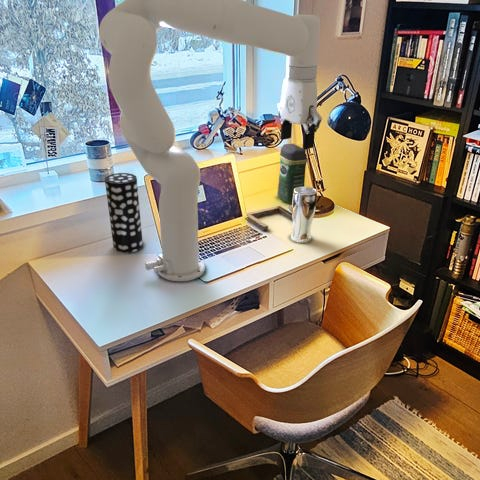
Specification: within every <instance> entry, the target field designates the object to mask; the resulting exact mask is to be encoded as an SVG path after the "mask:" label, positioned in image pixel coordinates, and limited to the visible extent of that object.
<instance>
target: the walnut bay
mask: <svg viewBox="0 0 480 480" xmlns="http://www.w3.org/2000/svg"><path fill="white" fill-rule="evenodd" d="M246 213H247V216H248V217H247V218H248V219H247V221H248V222H249V223H251V224H252V225H254V226H255V227H257V228H258V229H259V230H261V231H263V232H266V231H269V225H268V224H267V223H265V222H263V221H261V220H260V219H259V217H264V216H268V215H272V214H277V213H278V214H280V215H282V216H283V217H285V218H287V219H288V220H290V221H291V222H293V218H292V211H289V210H287V209H286V208H284V207H282V206H281V205H277V206H272V207H268V208H264V209H259V210H254V211H250V212H246Z"/></svg>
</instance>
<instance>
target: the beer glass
mask: <svg viewBox="0 0 480 480" xmlns="http://www.w3.org/2000/svg"><path fill="white" fill-rule="evenodd" d="M317 199H318V190H317V189H316V188H314V187H311V186H306V185H304V186H302V187H297V188H295V189H294V194H293V200H292V203H291V213H292V218H293V221H292V229H291V230H292V231H291V233H290V240H292V241H293V242H295V243H301V244H305V243H308V242H310V241H311V240H312V234H311V233H312V232H311V228H312V224H313V220H314V217H315V214H316V209H317Z"/></svg>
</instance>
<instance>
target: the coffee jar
mask: <svg viewBox="0 0 480 480" xmlns="http://www.w3.org/2000/svg"><path fill="white" fill-rule="evenodd" d="M305 150H306V149H303V147H301V146H299V145H298V144H295V143H285V144H283V145H282V146H281V148H280V153H279V176H278V186H277V195H276V196H277V198H278V199H279V200H281V201H282V202H284V203H286V204H292V200H293V194H294V189H295V188H297V187H302V186H305V183H306V182H305V180H306V169H307V163H308V160H307V158H306V154H305Z"/></svg>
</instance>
